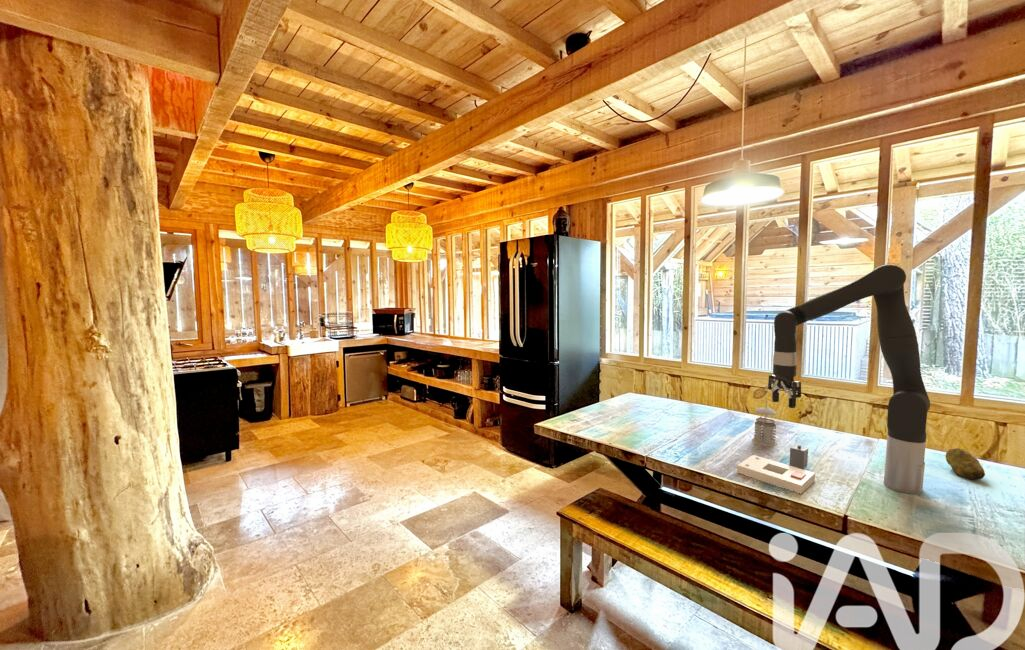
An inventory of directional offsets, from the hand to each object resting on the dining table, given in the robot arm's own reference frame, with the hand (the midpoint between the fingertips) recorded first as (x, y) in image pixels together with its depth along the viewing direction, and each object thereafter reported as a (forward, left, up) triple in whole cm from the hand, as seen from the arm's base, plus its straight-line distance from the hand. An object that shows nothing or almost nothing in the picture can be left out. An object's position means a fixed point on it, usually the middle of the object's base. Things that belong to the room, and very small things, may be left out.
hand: (783, 404), depth 158 cm
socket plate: (-4, +18, -22) cm, 29 cm away
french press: (+11, -14, -22) cm, 29 cm away
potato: (-46, -36, -22) cm, 63 cm away
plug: (-7, +4, -22) cm, 24 cm away
